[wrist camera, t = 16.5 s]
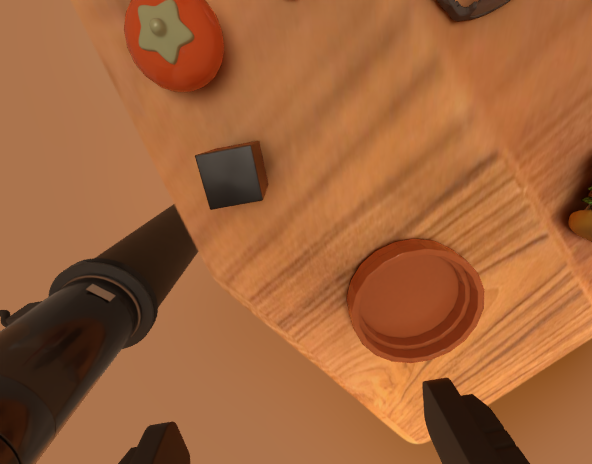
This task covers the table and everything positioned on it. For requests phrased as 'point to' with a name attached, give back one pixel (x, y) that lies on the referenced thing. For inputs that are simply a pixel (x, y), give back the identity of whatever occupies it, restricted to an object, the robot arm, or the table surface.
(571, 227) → the hamburger
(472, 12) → the sunglasses
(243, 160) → the block
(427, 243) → the pan
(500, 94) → the table surface
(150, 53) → the tomato
